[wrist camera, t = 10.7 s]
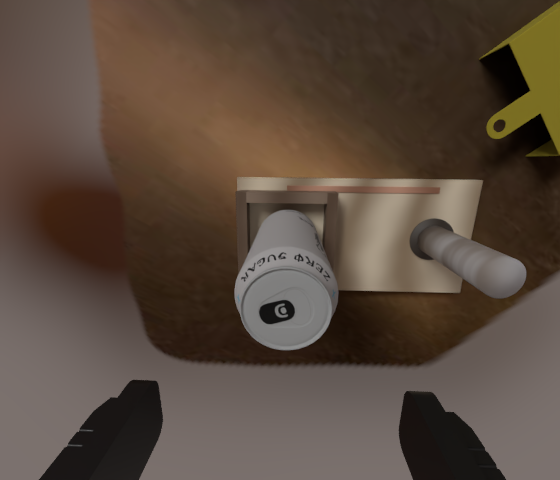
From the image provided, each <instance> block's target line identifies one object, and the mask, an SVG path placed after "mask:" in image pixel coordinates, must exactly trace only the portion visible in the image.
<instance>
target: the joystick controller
mask: <svg viewBox="0 0 560 480" xmlns="http://www.w3.org/2000/svg"><path fill="white" fill-rule="evenodd" d="M482 183H483V180H452V179H366V178H279V177H238V178H237V191H236V217H237V247H238V275H239V272H240V270H241V268H242V266H243V264H244V262H245V259H246V257H247V255H248V253H249V251H250V248H251V246H252V244H253V242H254V240H255V238H256V235H257V233H258V231H259V229H260V227H261V225H262V223H263V222H264V220H265V219H266V218H267V217H268V216H270V215H271V214H273V213H275V212H277V211H280V210H295V211H298V212H301V213H303V214H304V215H306V216H307V217H308V218H309V219H310V220H311V221H312V222H313V224H314V226H315V228H316V230H317V233H318V235H319V238H320V240H321V243H322V245H323V248H324V250H325V253H326V255H327V258H328V261H329V263H330V266H331V268H332V271H333V273H334V276H335V278H336V281H337V285H338V290H354V291H397V292H439V293H460V290H461V285H462V280H463V279H464V280H466V281H467V282H469V283H470V284H472V285H473V286H475V287H476V288H478V289H479V290H481V291H482V292H483V293H485V294H486V295H488V296H490V297H493V298H505V297H509V296H511V295H513V294H515V293H516V292H517V291H518V290H519V289H520V288H521V287H522V286H523V284H524V282H525V279H526V269H525V267H524V265H523V264H522V263H521V262H520V261H518V260H516V259H514V258H512V257H509V256H507V255H505V254H502V253H500V252H498V251H495V250H493V249H491V248H488V247H486V246H484V245H481V244H479V243H477V242H474V241H472V240H471V236H472V231H473V226H474V221H475V217H476V212H477V207H478V202H479V197H480V192H481V187H482Z"/></svg>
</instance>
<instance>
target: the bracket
mask: <svg viewBox="0 0 560 480" xmlns="http://www.w3.org/2000/svg"><path fill="white" fill-rule="evenodd" d="M508 44H509V45H510V47H511V50H512V52H513V54H514V56H515V59H516V61H517V63H518V65H519V67H520V70H521V72H522V74H523V76H524V79H525V81H526V83H527V85H528V87H529V90H530V91H529V92H528V93H526V94H525V95H523V96H522V97H520V98H519V99H517V100H516V101H514V102H513V103H511V104H510V105H508V106H507V107H505V108H504V109H502V110H501V111H499V112H498V113H496V114H495V115H493V116H492V117H491V118H490V119H489V121H488V123H487V127H486V130H487V134H488V135H489V136H490V137H491V138H494V139H500V138H503V137H505V136H506V135H508V134H509V133H511V132H512V131H514V130H515V129H517V128H518V127H520V126H521V125H523V124H525V123H526V122H528V121H529V120H531V119H532V118H534V117H535V116H537V115H538V114H541V116H542V118H543V121H544V123H545V125H546V127H547V130H548V132H549V134H550V136H551V138H552V139H551V140H550V141H548V142H547V143H545V144H544V145H542V146H540V147H539V148H537V149H536V150H534V151H532V152H531V153H529V154H528V155H526V156H525V157H527V156H560V1H559V2H558V3H556V4H555V5H553V6H552V7H551V8H549V9H548V10H547V11H545V12H544V13H542V14H541V15H540V16H538V17H537V18H535V19H534V20H533V21H531V22H530V23H528V24H527V25H526V26H524V27H523V28H522V29H520V30H519V31H517V32H516V33H515V34H513V35H512V36H510V37H509V38H508V39H506V40H505V41H503V42H502V43H501V44H499V45H498V46H496V47H495V48H494V49H492V50H491V51H490V52H488V53H487V54H485V55H484V56H483V57H485V56H487V55H489V54H491V53H493V52H495V51H497V50H498V49H500V48H502V47H504V46H506V45H508ZM483 57H481V58H480V59H482V58H483ZM480 59H479V60H480ZM499 119H502V120H504V121H505V124H506V125H505V128H504V130H503V131H501V132H495V131H494V129H493V125H494V123H495V122H496V121H497V120H499Z"/></svg>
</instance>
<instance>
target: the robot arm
mask: <svg viewBox="0 0 560 480" xmlns="http://www.w3.org/2000/svg"><path fill="white" fill-rule="evenodd" d="M162 422H163V415H162V408H161V400H160V394H159V386H158V383H157V381H148V380H145V381H144V380H132V381H130V382H129V383H128V384H127V386H126V387H125V388H124V390H123V391H122V393H121V394H120V395H119V396H118V398H110V399H109V400H107V401H106V402H105V403H103V404H102V405H101V406H100V407H98V408H97V409H96V410H95V411H94V412H93V413H92V414H91V415H90V416H89V418H88V419H87V420H86V421H85V423H84V424H83V425H82V426H81V428H80V430H79V432H77V433H76V434H75V435H74V436H73V438H72V439H71V440H70V442H69V443H68V446H67V447H65V448H64V449H63V450H62V452H61V453H60V454H59V455H58V457H57V458H56V459H55V460H54V462H53V463H52V464H51V465H50V467H49V468H48V469H47V470H46V472H45V473H44V474H43V475H42V477H41V478H40V479H39V480H139V478H140V476H141V474H142V472H143V470H144V468H145V466H146V463H147V461H148V459H149V457H150V455H151V453H152V451H153V449H154V447H155V445H156V443H157V441H158V438H159V435H160V433H161V428H162ZM399 438H400V444H401V448H402V451H403V454H404V457H405V459H406V462H407V465H408V467H409V470H410V472H411V475H412V478H413V480H506V479H505V477H504V476H503V474H502V473H501V471H500V470H499V469H497V467H496V464H495V462H494V461H493V460H492V458H491V456H490V455H489V453H488V452H486V451H485V447H484V446H483V445H482V443H481V442H480V440H479V439H478V437H477V436H476V434H475V433H474V431H473V430H472V428H471V427H469V426H468V425H467V424H466V423H465V422H464V421H463V420H462V419H461V418H460V417H458V416H457V415H456V414H455V413H454V412H445V410H444V409H443V407H442V405H441V404H440V402H439V401H438V399H437V397H436V396H435V395H434V394H433V393H432V392H415V391H407V392H406V393H405V394H404V400H403V406H402V412H401V419H400V425H399Z"/></svg>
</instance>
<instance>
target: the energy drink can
mask: <svg viewBox="0 0 560 480" xmlns="http://www.w3.org/2000/svg"><path fill="white" fill-rule="evenodd" d="M338 293H339V292H338V285H337V281H336V278H335V276H334V273H333V271H332V268H331V266H330V263H329V261H328V258H327V255H326V253H325V250H324V248H323V245H322V243H321V240H320V238H319V235H318V233H317V230H316V228H315V226H314V224H313V222H312V221H311V220H310V219H309V218H308V217H307V216H306V215H304V214H303V213H301V212H298V211H295V210H280V211H277V212H275V213H273V214H271V215H270V216H268V217H267V218H266V219H265V220H264V222H263V223H262V225H261V227H260V229H259V231H258V233H257V235H256V238H255V240H254V242H253V244H252V246H251V248H250V251H249V253H248V255H247V257H246V259H245V262H244V264H243V266H242V268H241V270H240V272H239V275H238V277H237V280H236V284H235V301H236V305H237V309H238V311H239V313H240V315H241V319H242V322H243V324H244V326H245V328H246V330H247V331H248V332H249V334H250V335H251V336H252V337H253V338H254V339H256V340H257V341H258V342H260V343H261V344H263V345H265V346H268V347H270V348H273V349H278V350H295V349H300V348H303V347H306V346H308V345H310V344H312V343H314V342H315V341H316V340H317V339H319V338H320V337H321V336H322V335H323V333H324V332H325V331H326V329H327V327H328V326H329V324H330V320H331V317H332V315H333V314H334V312H335V310H336V306H337V303H338Z"/></svg>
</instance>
